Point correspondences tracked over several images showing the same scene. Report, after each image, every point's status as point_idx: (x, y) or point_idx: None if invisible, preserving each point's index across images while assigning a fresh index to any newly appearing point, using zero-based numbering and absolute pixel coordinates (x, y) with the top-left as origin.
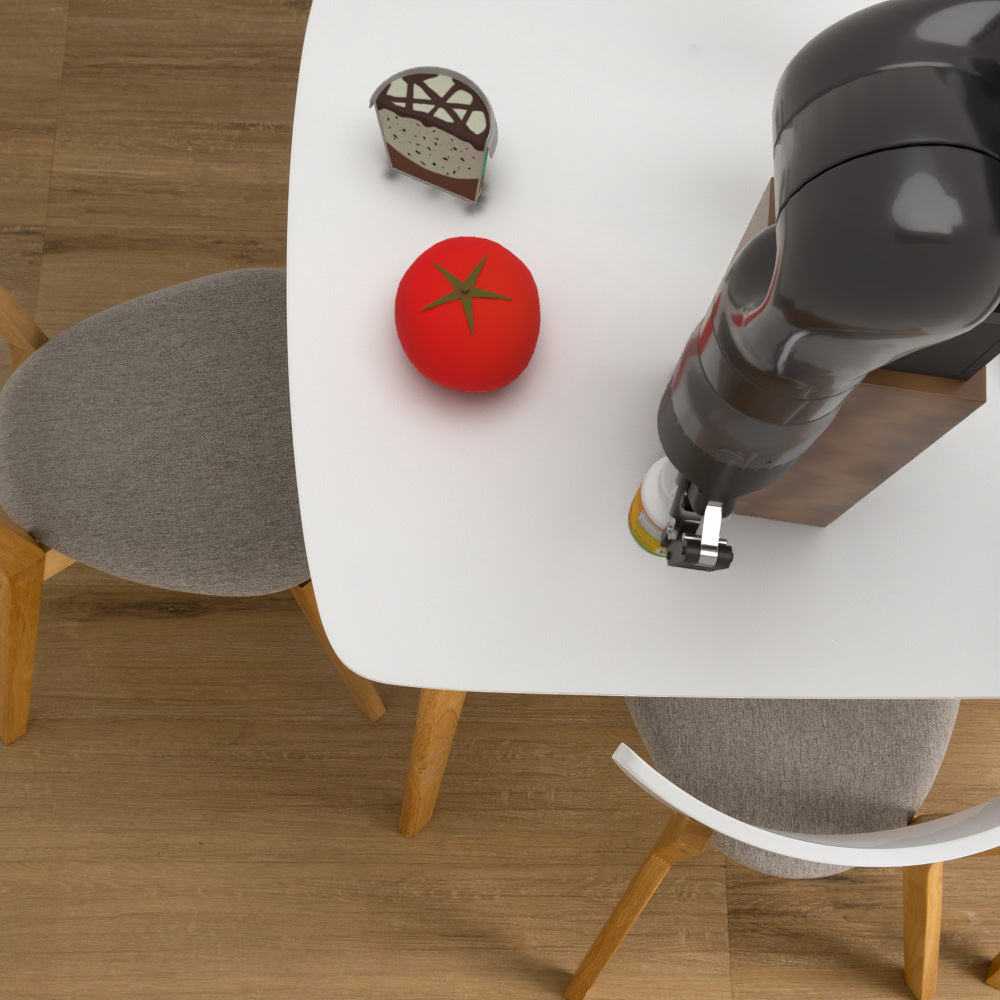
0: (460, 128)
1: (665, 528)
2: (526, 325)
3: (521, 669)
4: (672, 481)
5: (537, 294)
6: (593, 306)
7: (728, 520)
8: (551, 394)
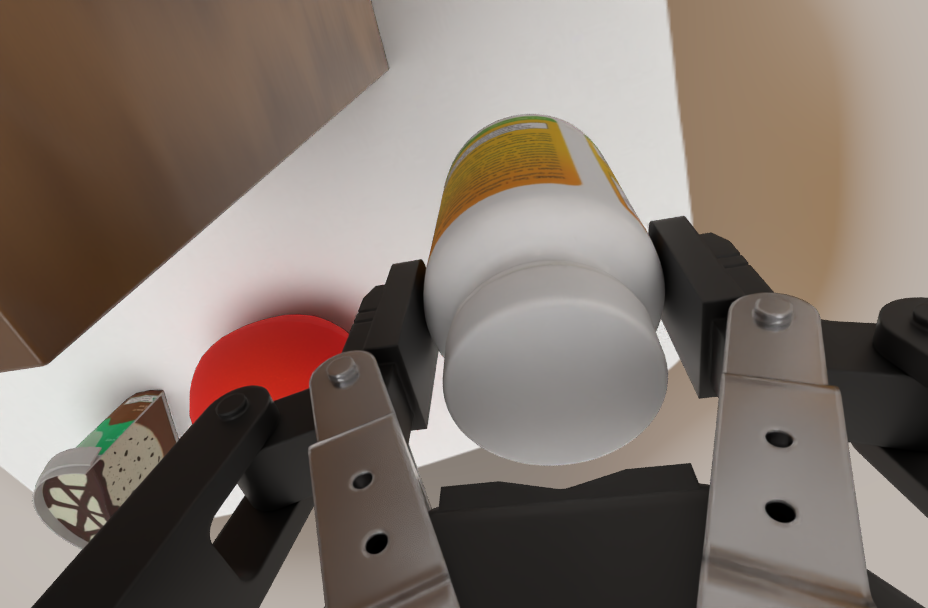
0: (93, 489)
1: (673, 342)
2: (266, 369)
3: (669, 192)
4: (582, 441)
5: (219, 356)
6: (186, 249)
7: (841, 398)
8: (319, 261)
